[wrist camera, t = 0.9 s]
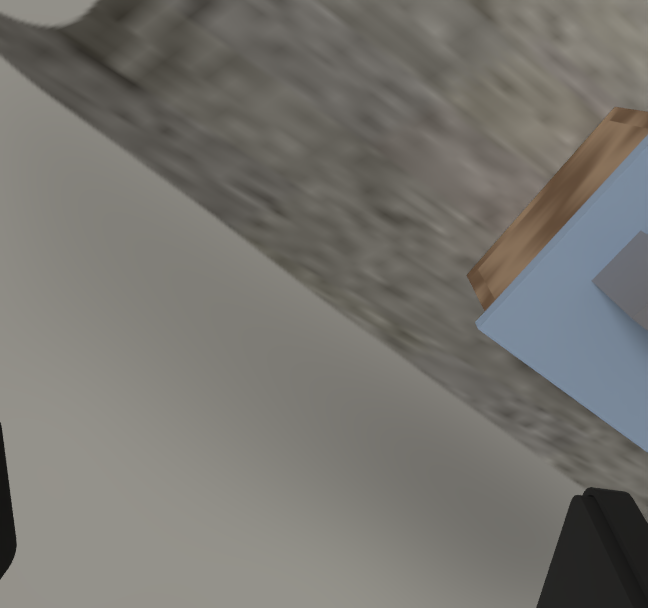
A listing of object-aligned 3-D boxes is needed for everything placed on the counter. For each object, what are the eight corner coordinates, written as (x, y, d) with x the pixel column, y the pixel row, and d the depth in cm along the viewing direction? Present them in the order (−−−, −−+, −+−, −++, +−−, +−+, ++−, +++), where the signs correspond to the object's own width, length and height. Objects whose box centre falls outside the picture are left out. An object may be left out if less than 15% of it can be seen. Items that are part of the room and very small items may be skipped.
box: (614, 106, 32) (678, 116, 26) (766, 236, 34) (861, 276, 28) (466, 275, 36) (489, 320, 30) (610, 382, 38) (661, 446, 32)
